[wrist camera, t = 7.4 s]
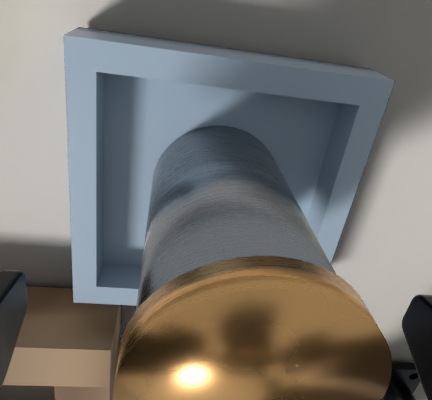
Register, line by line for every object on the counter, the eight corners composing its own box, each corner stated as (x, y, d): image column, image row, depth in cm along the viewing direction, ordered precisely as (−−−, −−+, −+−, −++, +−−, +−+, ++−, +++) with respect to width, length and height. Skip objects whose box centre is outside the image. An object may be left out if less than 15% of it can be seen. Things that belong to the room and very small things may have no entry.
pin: (298, 128, 13) (436, 298, 6) (268, 247, 15) (344, 471, 8) (151, 110, 12) (116, 279, 5) (142, 238, 15) (109, 473, 8)
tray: (369, 68, 13) (394, 80, 11) (300, 283, 17) (312, 314, 15) (79, 27, 12) (63, 35, 10) (84, 270, 16) (73, 302, 14)
